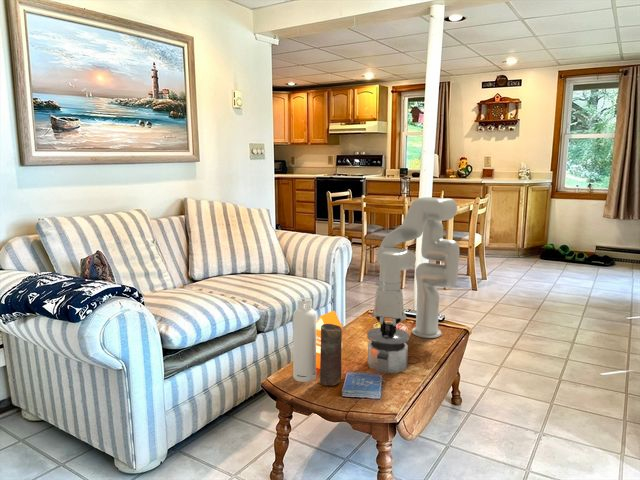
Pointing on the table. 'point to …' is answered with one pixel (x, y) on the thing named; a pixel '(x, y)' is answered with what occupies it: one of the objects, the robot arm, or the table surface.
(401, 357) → the pot
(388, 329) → the lid
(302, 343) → the bottle
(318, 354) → the orange juice
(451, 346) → the table surface
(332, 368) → the candle
